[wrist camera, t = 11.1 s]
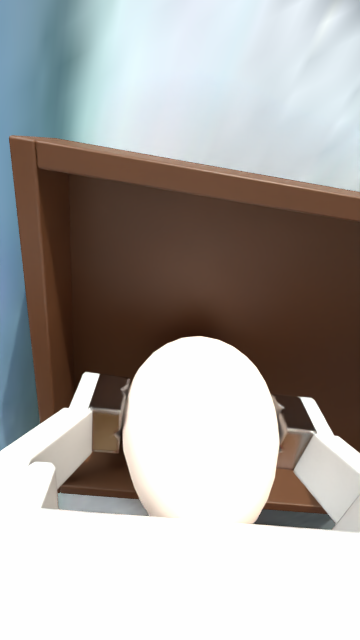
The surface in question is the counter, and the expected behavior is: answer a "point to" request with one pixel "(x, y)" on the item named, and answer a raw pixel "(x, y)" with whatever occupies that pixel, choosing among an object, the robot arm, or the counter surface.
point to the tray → (186, 282)
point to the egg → (201, 433)
